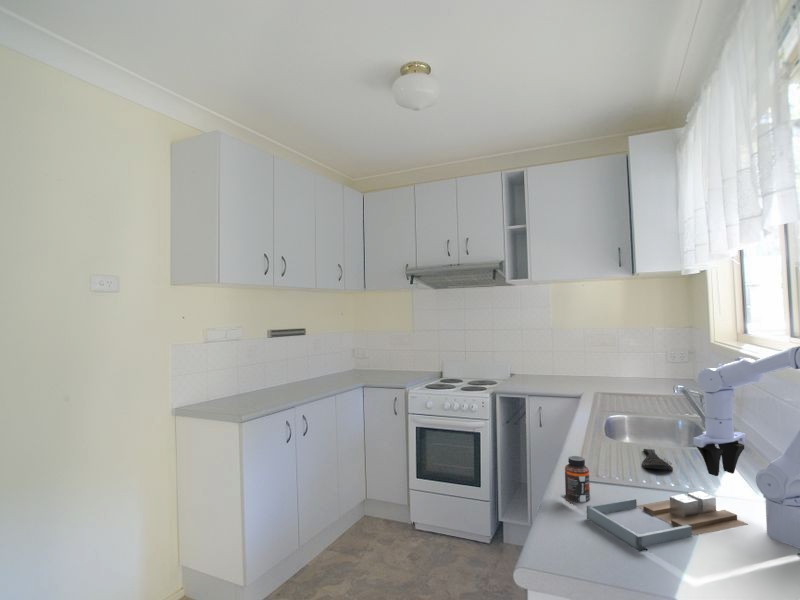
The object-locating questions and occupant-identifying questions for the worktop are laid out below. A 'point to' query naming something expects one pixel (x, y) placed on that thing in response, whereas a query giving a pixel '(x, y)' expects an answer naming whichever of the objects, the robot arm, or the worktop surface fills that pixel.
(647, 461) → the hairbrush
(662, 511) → the slot board
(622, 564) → the worktop surface
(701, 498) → the chip
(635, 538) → the tray
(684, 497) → the chip
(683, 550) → the worktop surface
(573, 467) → the supplement bottle
